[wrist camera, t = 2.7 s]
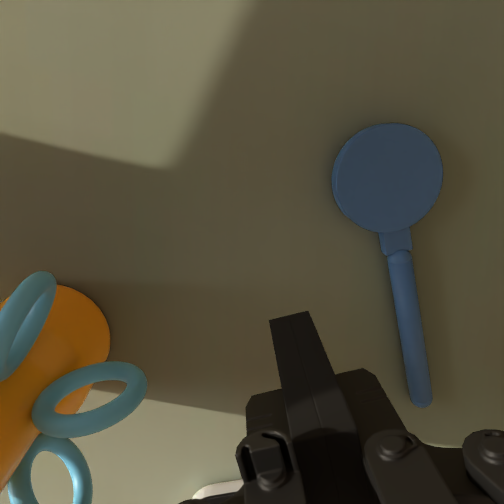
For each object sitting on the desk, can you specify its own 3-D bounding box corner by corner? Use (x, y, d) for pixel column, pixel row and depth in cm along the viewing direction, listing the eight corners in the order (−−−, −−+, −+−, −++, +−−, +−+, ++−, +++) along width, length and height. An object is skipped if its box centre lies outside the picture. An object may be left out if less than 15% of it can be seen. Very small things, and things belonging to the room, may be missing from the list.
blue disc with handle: (321, 138, 21) (327, 138, 20) (427, 111, 21) (438, 110, 20) (374, 409, 25) (381, 422, 24) (461, 388, 25) (472, 400, 24)
